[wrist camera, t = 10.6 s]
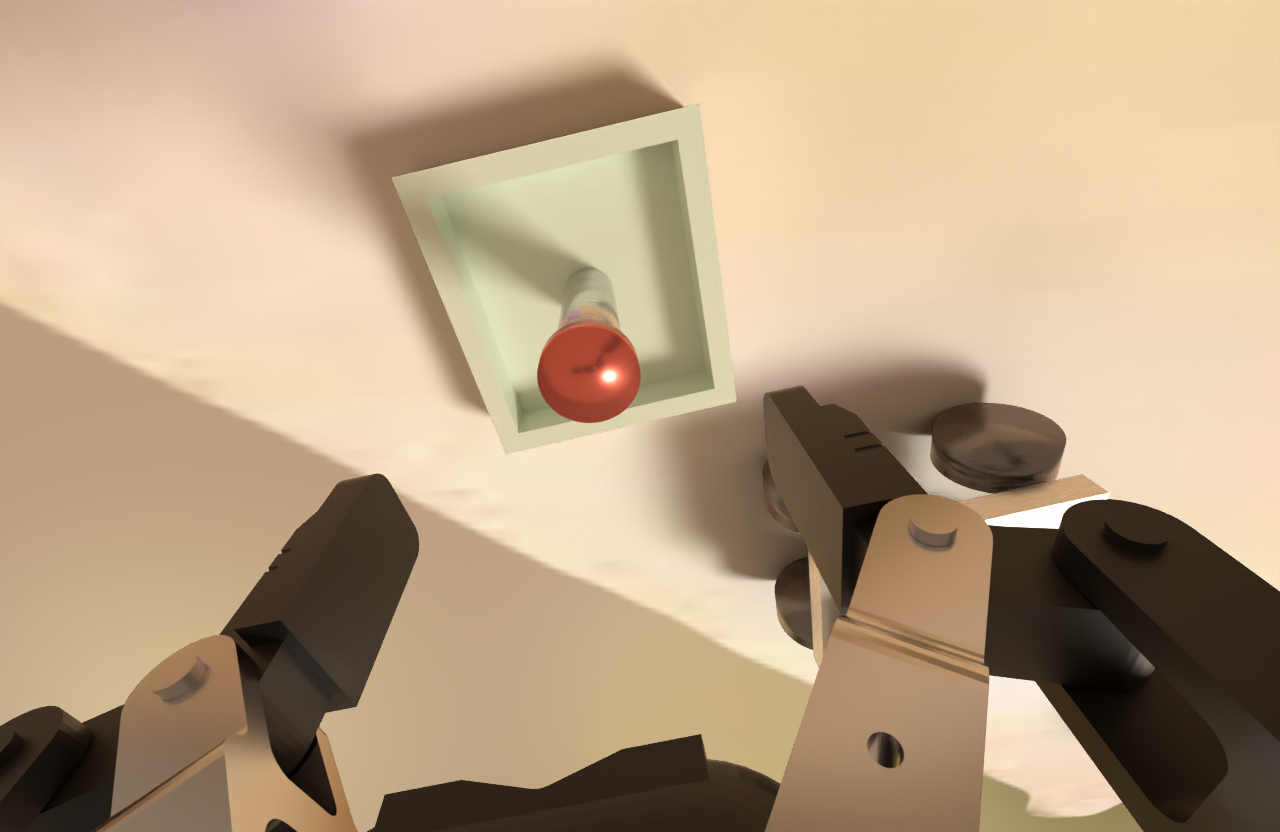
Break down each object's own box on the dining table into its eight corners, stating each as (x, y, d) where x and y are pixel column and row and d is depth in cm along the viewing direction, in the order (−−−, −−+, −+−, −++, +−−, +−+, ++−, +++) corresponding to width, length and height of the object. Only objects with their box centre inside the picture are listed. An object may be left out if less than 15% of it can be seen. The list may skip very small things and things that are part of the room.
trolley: (749, 453, 30) (810, 570, 22) (1009, 394, 30) (1169, 491, 22) (765, 586, 36) (817, 718, 28) (982, 538, 36) (1100, 658, 28)
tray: (414, 173, 22) (391, 177, 19) (685, 107, 21) (699, 103, 19) (513, 424, 28) (505, 454, 25) (722, 376, 28) (736, 401, 25)
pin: (547, 267, 23) (523, 342, 15) (613, 251, 23) (628, 317, 15) (566, 331, 25) (554, 432, 16) (628, 317, 25) (649, 410, 16)
